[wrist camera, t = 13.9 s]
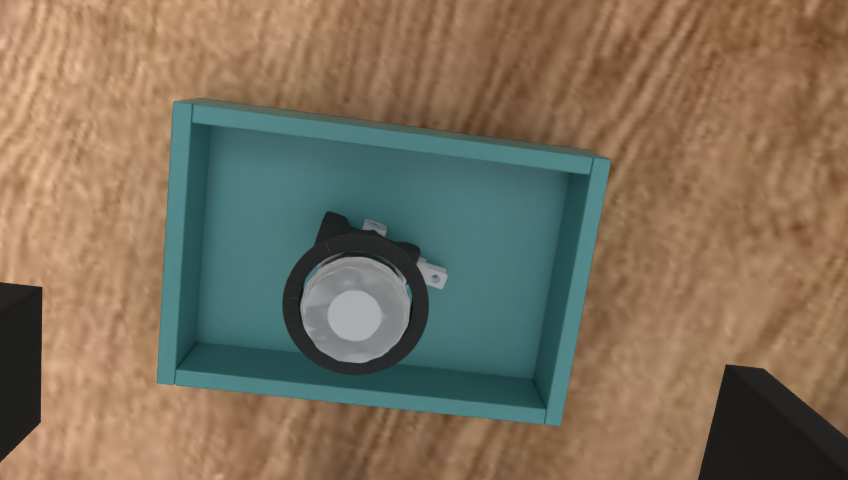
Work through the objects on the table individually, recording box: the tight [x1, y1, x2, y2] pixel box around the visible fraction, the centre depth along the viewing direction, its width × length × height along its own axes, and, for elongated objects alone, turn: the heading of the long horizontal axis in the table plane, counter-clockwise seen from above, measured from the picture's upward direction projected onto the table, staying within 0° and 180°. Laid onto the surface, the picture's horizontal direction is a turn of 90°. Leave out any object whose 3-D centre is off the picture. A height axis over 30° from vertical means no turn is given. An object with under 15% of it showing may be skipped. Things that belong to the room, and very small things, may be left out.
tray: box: [157, 98, 611, 426], centre depth 34 cm, size 19×13×4 cm
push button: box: [282, 211, 447, 375], centre depth 30 cm, size 7×5×10 cm
